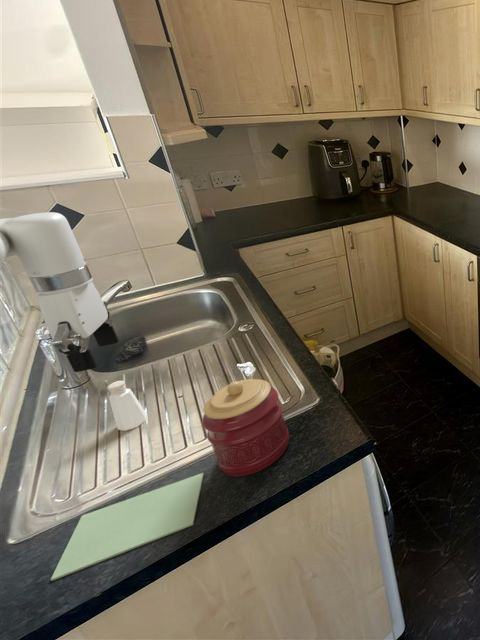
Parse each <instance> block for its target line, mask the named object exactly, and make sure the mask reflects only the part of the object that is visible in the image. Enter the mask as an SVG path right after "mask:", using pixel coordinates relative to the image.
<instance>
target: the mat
mask: <svg viewBox="0 0 480 640" xmlns="http://www.w3.org/2000/svg"><path fill="white" fill-rule="evenodd" d="M204 476H205V472H201V473H198V474H196V475H193V476H192V475H191V476H190V477H186V478H184V479H182V480H178V481H176V482H173V483H170V484H168V485H164V486H160V487H159V488H155V489H153V490H150V491H147V492H145V493H141V494H138V495H136V496H133V497H131V498H128V499H124V500H122V501H119V502H116V503H113V504H109V505H108V506H104V507H102V508H99V509H96V510H93V511H90V512H88V513H85V514H83V515H81V516H80V518H79V521H78V522H77V524H76V527H75V528H74V531H73V533H72V535H71V537H70V539H69V540H68V542H67V545H66V547H65V548H64V551H63V553H62V555H61V557H60V559H59V561H58V563H57V565H56V567H55V569H54V572H53V574H52V576H51V577H50V581H51V582H53V581H56V580H57V579H60V578H63V577H66V576H68V575H71V574H73V573H75V572H78V571H81V570H83V569H86V568H88V567H91V566H93V565H96V564H98V563H101V562H104V561H106V560H108V559H111V558H113V557H117V556H119V555H122V554H125V553H126V552H129V551H131V550H134V549H136V548H140V547H141V546H144V545H147V544H149V543H151V542H154V541H157V540H159V539H162V538H164V537H166V536H170V535H172V534H175V533H177V532H179V531H182V530H184V529H187V528H190V527H192V526H194V524H195V519H196V513H197V510H198V504H199V499H200V494H201V489H202V485H203V481H204Z"/></svg>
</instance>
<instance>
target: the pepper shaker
mask: <svg viewBox="0 0 480 640" xmlns="http://www.w3.org/2000/svg"><path fill="white" fill-rule="evenodd" d="M106 388H107V390H108V391H109V393H110V395H109V397H108V398H109V403H110V407H111V410H112V414H113V417H114V421H115V424H116V425H115V426H116V428H117V431H123V432H126V431H130V430H132V429H136V428H138V427H140V426H141V425H142V424H144V423H145V422H146V421H147V420H148V413H147V412H146V411H145V409H144V407H143V405H142V403H140V401H139V399H138V398H137V397H136V394H135V393H134V392H133V390H132V389H131V388H127V386H126V383H125V381H124V380H117V381H114V382H112V383H109V385H108V386H107V387H106Z"/></svg>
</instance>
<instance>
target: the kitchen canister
mask: <svg viewBox="0 0 480 640" xmlns="http://www.w3.org/2000/svg"><path fill="white" fill-rule="evenodd" d="M278 400H279V393H278V391H277V390H276V389H275V388H274V387H272V386H271V383H269V382H268V381H267V380H265V379H258V378H257V379H256V378H254V379H253V378H247V379H242V380H234V381H231V382H230V383H229V384H227V385H225V386H224V387H223V386H222V388H220V389H219V390H217V391H216V392H215V394H213V395H212V396H211V397H210V398H209V399H208V400H207V401H206V403H205V404H204V407H203V416H202V420H201V425H202V427H203V428H204V429H205V430H206V431H207V432H206V438H207V440H208V442H209V443H210V444H211V448H212V450H213V453H214V455H215V461H216V463H217V466H218V468H219V469H220V470H221V471H222V472H223V474H225V475H226V476H229V477H236V478H237V477H245V476H250V475H253V474H256V473H259V472H260V471H262V470H264V469H266V468H268V467H269V466H271V465H273V464H274V463H275V462H276V461H278V460H279V459H280V458H281V456H283V454H284V453H285V452H286V450H288V449H287V448H288V447H289V445H290V444H289V443H290V431H289V428H288V426H287V423H286V420H285V417H284V415H283V414H284V413H283V406H282V404H281V403H280V402H279V401H278Z"/></svg>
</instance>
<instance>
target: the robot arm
mask: <svg viewBox="0 0 480 640" xmlns="http://www.w3.org/2000/svg"><path fill="white" fill-rule="evenodd" d="M11 256H16V257H18V260H20V263H21V265H22V267H23V268H24V271H25V273H26V275H27V276H28V279H29V281H30V283H31V285H32V288H33V289H34V291H35V293H36V294H37V299H38V305H39V309H40V313H41V315H42V319H43V321H44V323H45V327H46V328H47V331H48V333H49V336H50V338H51V339H52V345H53V346H54V347H55V348H56V349H57V350H58V352H59V353H61V354H62V355H63V356H64V357H66V358H67V360H68V363H69V364H70V366H71V368H72V370H73V372H74V373H80V372H85V371H89V370H93V369H96V368H97V367H98V364H97V362H96V360H95V357H94V356H93V354H92V352H91V349H90V348H88V349H87V339H88V338H89V337H90V336H91V335H93V336H94V339H95V341H96V343H97V346H98V347H104V346H109V345H115V344H118V343H119V342H120V340H119V337H118V335H117V332H116V330H115V328H114V326H113V321H112V319H110V315H111V313H110V312H109V310H108V303H107V302H106V301H104V300H103V298H102V296H101V295H100V293H99V290H98V289H97V287H96V286H95V284H94V282H93V281H94V277H93V276H92V273H91V271H90V269H89V267H88V264H87V262H86V259H85V258H84V255H83V253H82V250H81V248H80V246H79V243H78V242H77V239H76V237H75V234H74V232H73V230H72V228H71V226H70V223H69V221H68V219H67V217H65V215H63V214H61V213H59V212H52V211H49V212H46V211H45V212H37V213H28V214H24V215H18V216H15V217H7V218H6V217H5V218H0V266H1V265H2V264H3V263H4V261H5V260H6V259H7V258H9V257H11ZM73 342H74V343H75V342H78V345H77V344H74V343H73Z"/></svg>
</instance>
